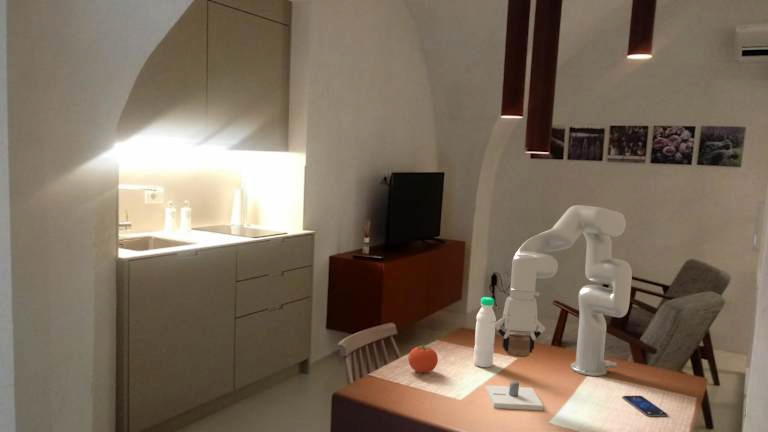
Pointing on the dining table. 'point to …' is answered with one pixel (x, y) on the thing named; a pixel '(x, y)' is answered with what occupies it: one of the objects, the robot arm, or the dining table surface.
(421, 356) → the tomato
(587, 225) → the robot arm
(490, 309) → the water bottle
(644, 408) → the smartphone
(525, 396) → the plate
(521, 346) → the brown short cylinder
